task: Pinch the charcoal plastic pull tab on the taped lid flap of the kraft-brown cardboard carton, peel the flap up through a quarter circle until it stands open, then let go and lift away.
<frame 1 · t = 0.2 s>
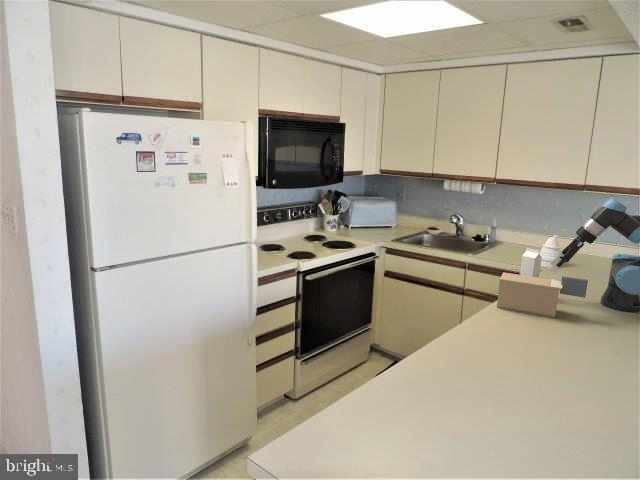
hand: (552, 268, 194), 16 cm above the worktop, tool tilted 35°, fingers open, 13 cm apart
flap: (542, 282, 185), point 12 cm above the worktop, hinge at 0.0°
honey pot: (548, 265, 264), on the worktop
milk: (526, 296, 207), on the worktop
carton: (526, 308, 190), on the worktop
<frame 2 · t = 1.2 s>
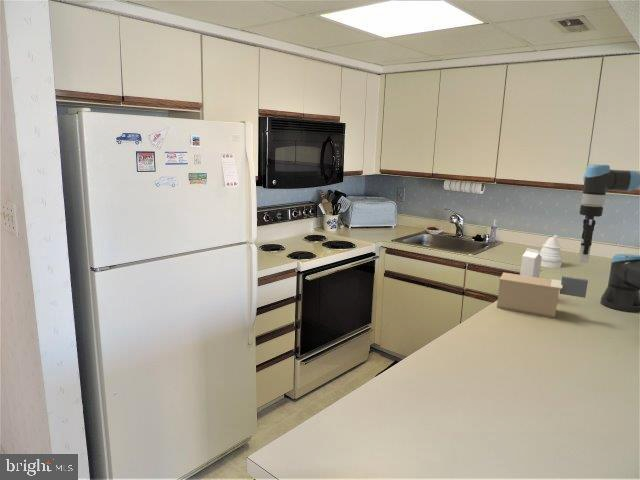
hand: (583, 259, 177), 24 cm above the worktop, tool pointing down, fingers open, 13 cm apart
nothing on the worktop moved.
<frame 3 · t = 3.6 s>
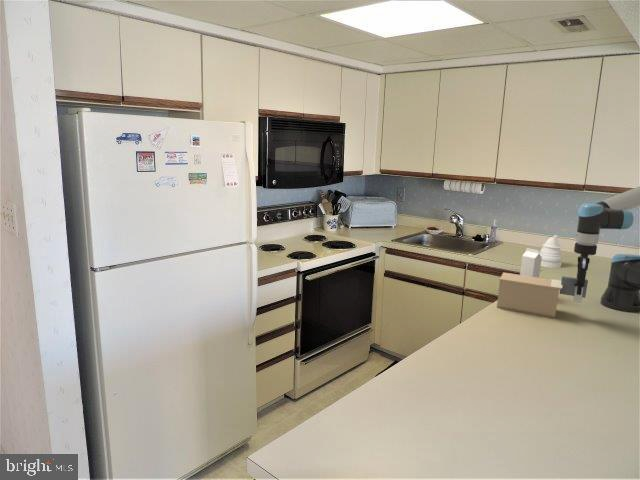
hand: (577, 300, 180), 7 cm above the worktop, tool pointing down, fingers closed on flap, 2 cm apart
flap: (542, 282, 185), point 13 cm above the worktop, hinge at 0.0°, touching gripper
everything else where it was.
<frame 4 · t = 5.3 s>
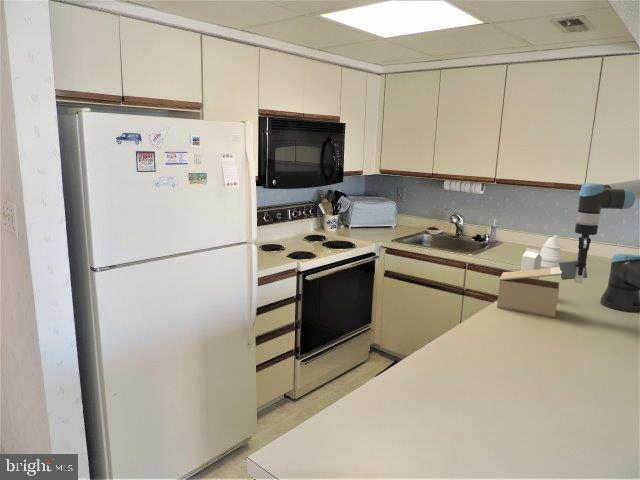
hand: (578, 281, 179), 15 cm above the worktop, tool pointing down, fingers closed on flap, 2 cm apart
flap: (541, 272, 185), point 17 cm above the worktop, hinge at 14.9°, touching gripper
everything else where it was.
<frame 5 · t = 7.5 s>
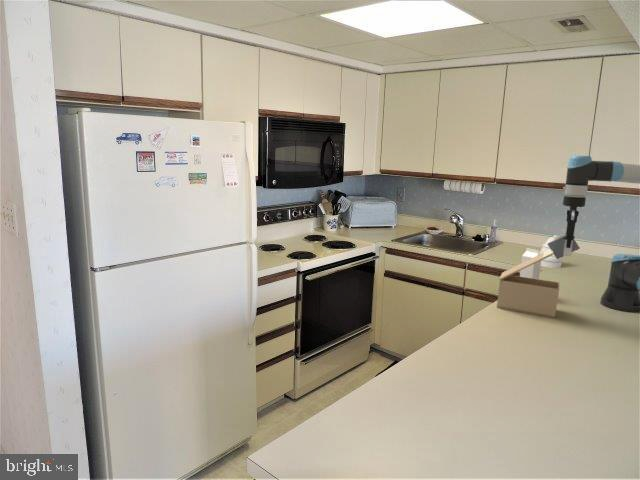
hand: (566, 254, 179), 25 cm above the worktop, tool pointing down, fingers closed on flap, 2 cm apart
flap: (536, 259, 185), point 22 cm above the worktop, hinge at 36.6°, touching gripper
everything else where it was.
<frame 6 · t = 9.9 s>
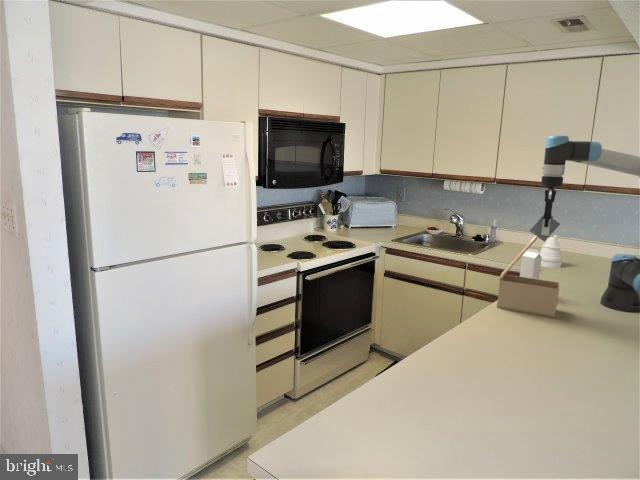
hand: (545, 234, 182), 32 cm above the worktop, tool pointing down, fingers closed on flap, 2 cm apart
flap: (525, 248, 186), point 26 cm above the worktop, hinge at 58.1°, touching gripper
everything else where it was.
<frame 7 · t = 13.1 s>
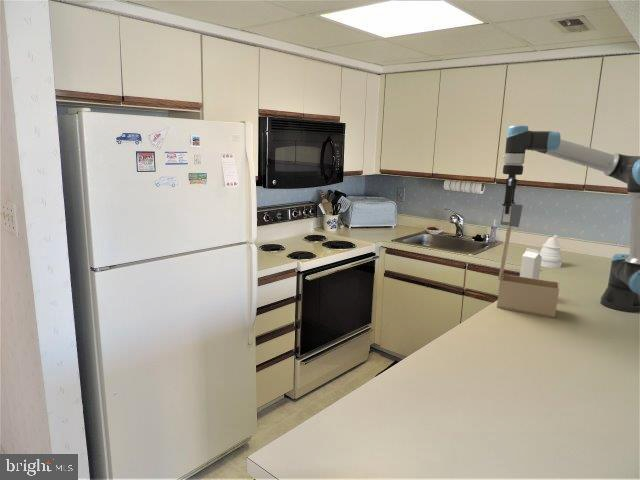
hand: (506, 220, 188), 36 cm above the worktop, tool pointing down, fingers open, 6 cm apart
flap: (506, 241, 189), point 28 cm above the worktop, hinge at 86.8°
everything else where it was.
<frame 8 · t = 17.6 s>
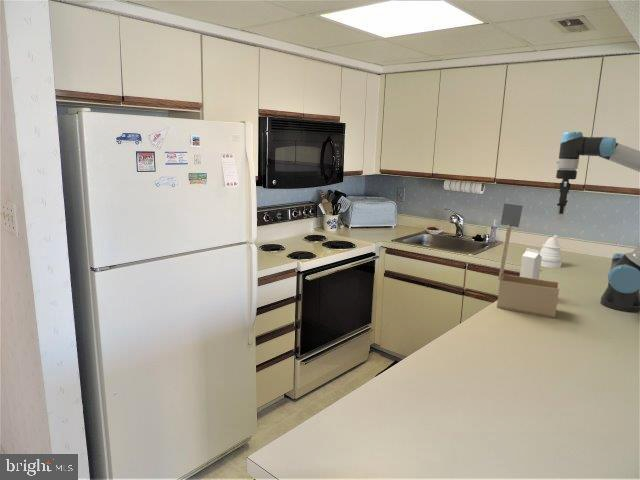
hand: (560, 219, 193), 37 cm above the worktop, tool pointing down, fingers open, 13 cm apart
nothing on the worktop moved.
at the end: flap at +87° (first picture: +0°); the gripper is holding nothing; milk moved 0.2 cm from its start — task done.
